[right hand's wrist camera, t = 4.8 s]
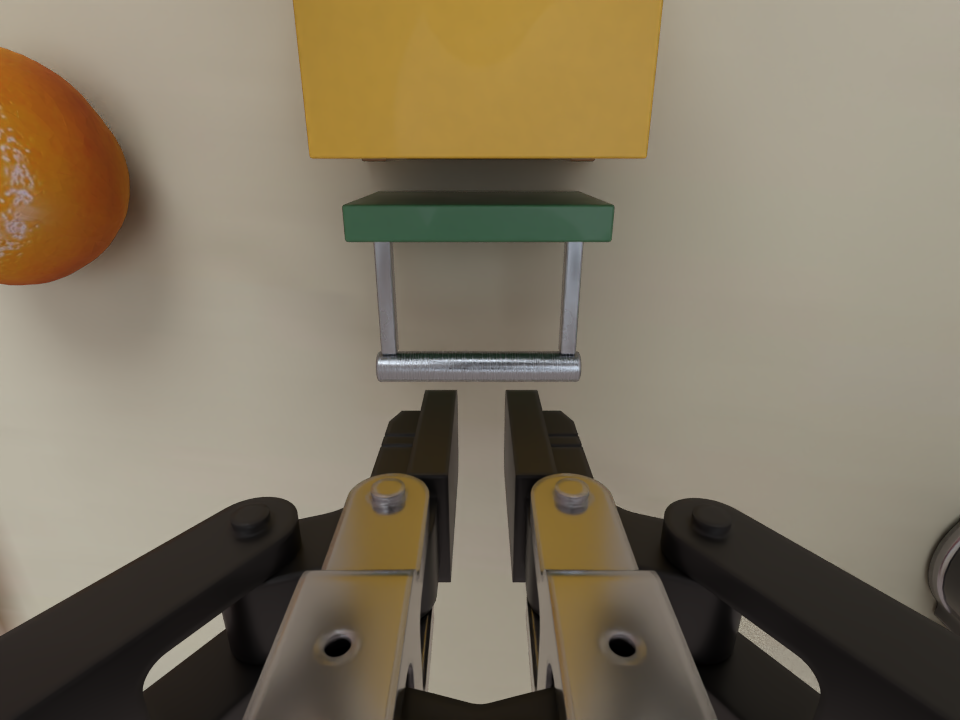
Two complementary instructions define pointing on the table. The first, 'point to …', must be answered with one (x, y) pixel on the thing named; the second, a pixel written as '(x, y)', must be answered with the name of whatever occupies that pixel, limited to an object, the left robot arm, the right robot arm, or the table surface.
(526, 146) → the cabinet
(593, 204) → the drawer
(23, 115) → the fruit
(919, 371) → the table surface
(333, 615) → the right robot arm
